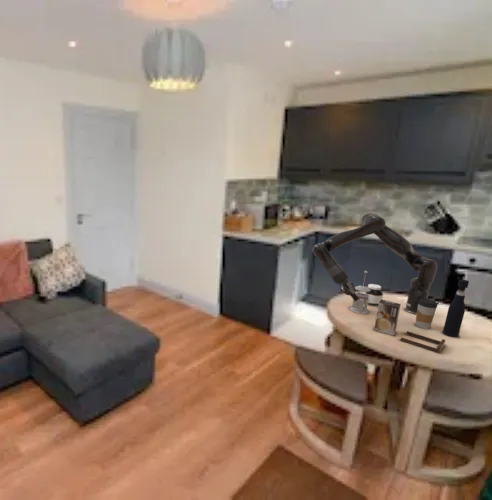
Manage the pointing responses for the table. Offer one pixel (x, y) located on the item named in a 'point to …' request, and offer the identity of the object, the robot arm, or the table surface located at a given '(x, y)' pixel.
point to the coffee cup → (425, 313)
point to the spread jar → (374, 294)
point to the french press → (359, 304)
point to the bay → (438, 349)
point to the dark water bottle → (456, 311)
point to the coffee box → (387, 317)
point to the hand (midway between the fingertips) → (357, 300)
